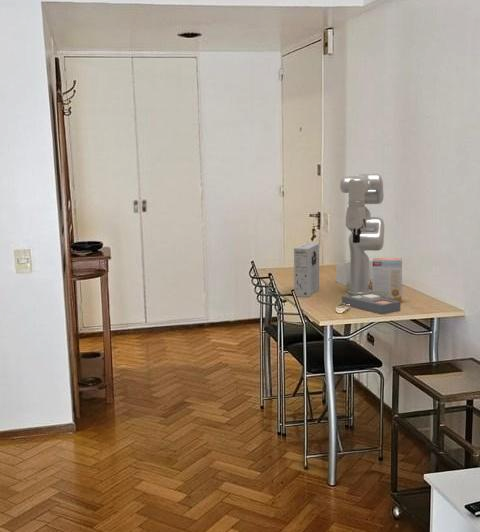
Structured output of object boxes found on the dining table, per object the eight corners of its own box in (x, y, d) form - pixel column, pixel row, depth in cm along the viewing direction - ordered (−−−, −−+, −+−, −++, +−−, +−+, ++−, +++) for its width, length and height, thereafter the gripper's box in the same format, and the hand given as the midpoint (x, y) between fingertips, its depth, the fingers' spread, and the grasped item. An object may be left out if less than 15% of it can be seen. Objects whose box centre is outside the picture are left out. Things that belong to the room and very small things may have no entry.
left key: (349, 301, 333) (349, 296, 332) (358, 300, 336) (358, 295, 335) (358, 303, 328) (358, 298, 327) (367, 302, 331) (367, 297, 331)
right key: (373, 307, 319) (373, 302, 319) (383, 305, 323) (383, 300, 322) (383, 309, 315) (383, 304, 314) (392, 308, 318) (392, 302, 318)
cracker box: (401, 300, 340) (402, 257, 336) (401, 302, 334) (402, 259, 330) (372, 299, 343) (372, 257, 339) (371, 301, 337) (372, 259, 334)
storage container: (375, 279, 397) (375, 260, 395) (385, 282, 387) (385, 262, 385) (336, 282, 388) (336, 263, 386) (346, 286, 378) (346, 266, 376)
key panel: (342, 304, 333) (342, 296, 332) (360, 301, 339) (360, 293, 339) (381, 314, 311) (381, 305, 311) (400, 310, 318) (400, 301, 318)
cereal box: (305, 288, 373) (305, 242, 369) (319, 289, 370) (319, 242, 366) (294, 296, 353) (293, 247, 349) (308, 297, 350) (308, 248, 346)
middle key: (361, 300, 326) (361, 295, 325) (370, 299, 329) (370, 294, 329) (370, 303, 321) (370, 297, 320) (379, 301, 324) (380, 296, 324)
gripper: (339, 204, 334) (339, 241, 337) (362, 205, 322) (361, 245, 325) (351, 203, 338) (351, 240, 341) (373, 204, 326) (373, 243, 329)
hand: (356, 242), depth 333 cm, fingers closed
